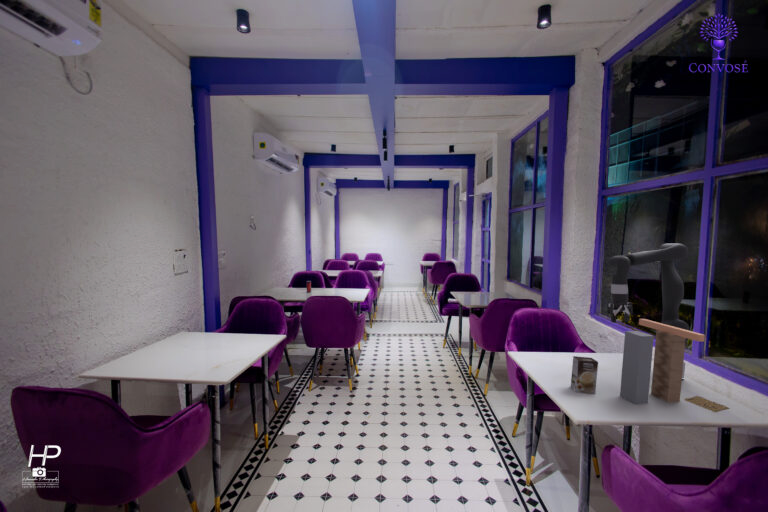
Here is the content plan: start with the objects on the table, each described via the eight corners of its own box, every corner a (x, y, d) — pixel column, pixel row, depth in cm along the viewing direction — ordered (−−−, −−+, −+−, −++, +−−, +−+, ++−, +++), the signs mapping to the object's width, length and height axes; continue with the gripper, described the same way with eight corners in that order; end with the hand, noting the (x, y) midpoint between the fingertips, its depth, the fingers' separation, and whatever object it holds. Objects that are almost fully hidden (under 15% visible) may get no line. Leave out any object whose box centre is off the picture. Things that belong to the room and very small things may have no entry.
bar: (638, 324, 171) (639, 318, 171) (643, 324, 172) (644, 318, 172) (698, 341, 144) (699, 334, 144) (704, 341, 144) (704, 334, 144)
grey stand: (619, 395, 159) (625, 331, 157) (632, 395, 160) (637, 330, 158) (635, 404, 151) (641, 336, 149) (647, 403, 152) (653, 335, 150)
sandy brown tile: (682, 400, 157) (682, 398, 157) (697, 396, 162) (697, 395, 162) (714, 413, 146) (715, 411, 146) (730, 409, 150) (730, 407, 150)
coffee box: (576, 392, 161) (578, 360, 160) (570, 386, 167) (572, 355, 166) (596, 394, 160) (598, 361, 159) (589, 388, 166) (591, 357, 165)
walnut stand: (650, 394, 162) (656, 330, 160) (662, 393, 163) (668, 330, 161) (667, 402, 154) (673, 335, 152) (679, 401, 155) (685, 335, 154)
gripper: (624, 291, 185) (624, 320, 185) (602, 292, 182) (603, 321, 182) (636, 292, 177) (637, 322, 177) (614, 293, 174) (615, 324, 174)
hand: (620, 322), depth 179 cm, fingers open, 8 cm apart
